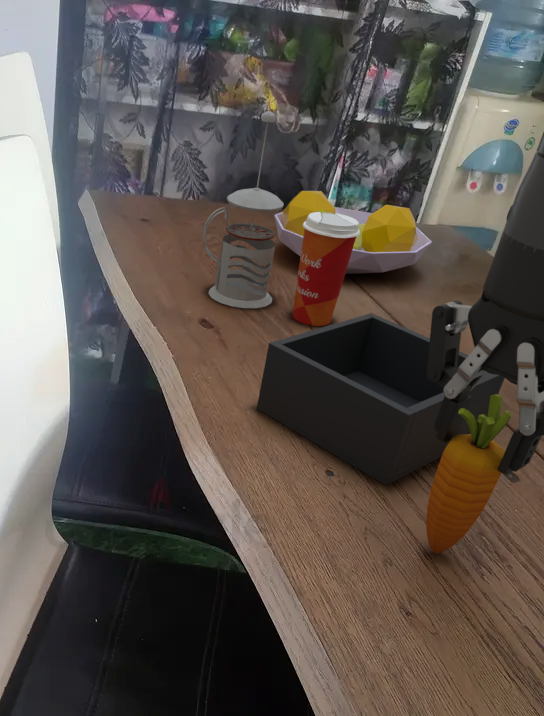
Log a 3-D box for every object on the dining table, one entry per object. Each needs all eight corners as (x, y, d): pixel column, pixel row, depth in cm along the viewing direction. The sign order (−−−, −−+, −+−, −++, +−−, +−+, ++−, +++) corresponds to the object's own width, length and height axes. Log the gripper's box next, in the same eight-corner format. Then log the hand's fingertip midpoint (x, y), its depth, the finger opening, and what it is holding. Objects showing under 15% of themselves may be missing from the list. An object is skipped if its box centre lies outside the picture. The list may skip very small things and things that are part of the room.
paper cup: (280, 306, 110) (299, 208, 101) (330, 309, 110) (353, 212, 102) (291, 327, 103) (312, 225, 95) (344, 330, 104) (369, 229, 96)
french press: (276, 310, 108) (312, 121, 93) (198, 304, 107) (221, 112, 92) (268, 287, 116) (300, 108, 101) (195, 281, 115) (216, 100, 100)
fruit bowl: (334, 231, 145) (348, 170, 138) (450, 276, 129) (472, 209, 122) (229, 248, 130) (239, 180, 123) (346, 301, 114) (364, 226, 107)
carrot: (441, 578, 62) (507, 424, 53) (395, 546, 65) (450, 395, 56) (475, 559, 65) (544, 409, 56) (429, 528, 68) (487, 381, 59)
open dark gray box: (354, 373, 93) (371, 312, 88) (481, 436, 83) (507, 371, 78) (256, 408, 83) (268, 342, 78) (385, 485, 73) (409, 415, 68)
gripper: (700, 261, 46) (583, 483, 57) (495, 202, 55) (425, 404, 65) (654, 279, 42) (536, 515, 52) (439, 212, 51) (374, 427, 61)
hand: (475, 453), depth 59 cm, fingers closed on carrot, 5 cm apart
